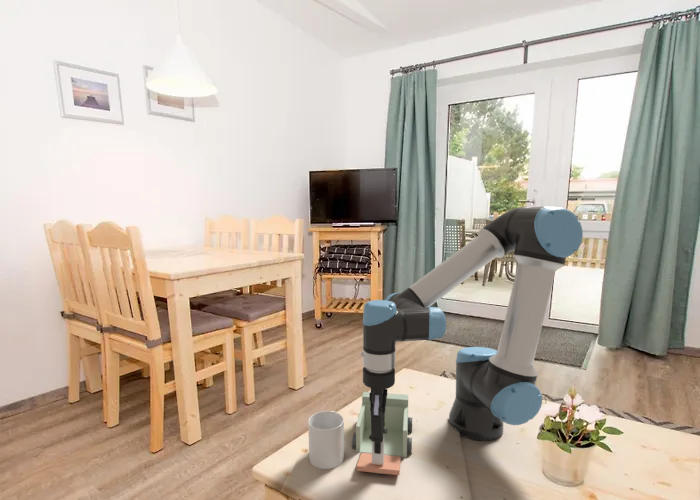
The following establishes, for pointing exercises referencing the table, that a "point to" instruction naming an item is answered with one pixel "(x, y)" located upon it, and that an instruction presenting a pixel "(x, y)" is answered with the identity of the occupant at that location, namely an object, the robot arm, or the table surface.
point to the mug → (326, 439)
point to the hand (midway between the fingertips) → (377, 461)
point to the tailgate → (388, 467)
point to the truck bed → (394, 423)
